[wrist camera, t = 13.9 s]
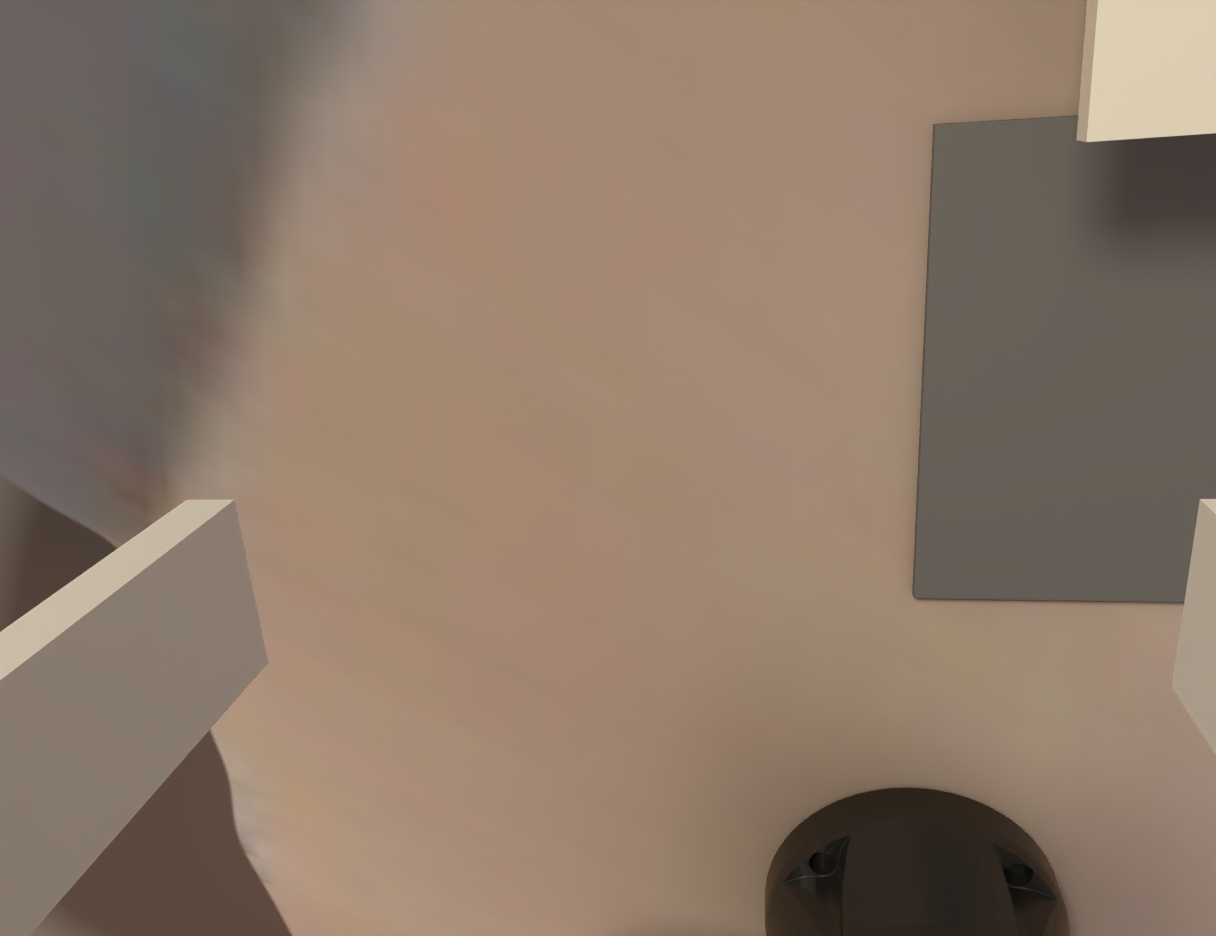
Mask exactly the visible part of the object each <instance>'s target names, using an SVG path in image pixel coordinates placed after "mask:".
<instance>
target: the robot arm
mask: <svg viewBox="0 0 1216 936" xmlns="http://www.w3.org/2000/svg"><path fill="white" fill-rule="evenodd" d="M267 663H268V659H267V655H266V650H265V645H264V640H263V635H262V630H261V626H260V621H259V616H258V611H257V606H256V602H255V597H254V592H253V587H252V582H251V577H250V573H249V568H248V563H247V558H246V553H245V548H244V544H243V539H242V534H241V529H240V524H239V520H238V515H237V510H236V505H235V500H186V501H184V502H183V503H182V504H180V505H179V506H177V507H176V508H175V509H173V510H172V511H170V512H169V513H167V514H166V515H165V516H163V517H162V518H160V519H159V520H158V521H156V522H155V523H153V524H152V525H151V526H149V527H148V528H146V529H145V530H143V531H142V532H141V533H139V534H138V535H136V536H135V537H134V538H132V539H131V540H129V541H128V542H127V543H125V544H124V545H122V546H121V547H119V548H118V549H117V550H115V551H114V552H113V553H111V554H110V555H108V556H107V557H105V558H104V559H103V560H101V561H100V562H98V563H97V564H95V565H94V566H93V567H91V568H90V569H88V570H87V571H86V572H84V573H83V574H81V575H80V576H79V577H77V578H76V579H74V580H73V581H72V582H70V583H69V584H67V585H66V586H64V587H63V588H62V589H60V590H59V591H57V592H56V593H55V594H53V595H52V596H50V597H49V598H48V599H46V600H45V601H43V602H42V603H40V604H39V605H38V606H36V607H35V608H33V609H32V610H31V611H29V612H28V613H26V614H25V615H24V616H22V617H21V618H19V619H18V620H17V621H15V622H14V623H12V624H11V625H9V626H8V627H7V628H5V629H4V630H2V631H1V632H0V936H29V935H30V934H31V933H32V932H33V931H34V929H35V928H36V927H37V926H38V925H39V924H40V922H41V921H42V920H43V919H44V918H45V917H46V915H48V913H49V912H50V911H51V910H52V909H53V908H54V907H55V905H56V904H57V903H58V902H59V901H60V900H61V899H62V897H63V896H64V895H65V894H66V893H67V892H68V891H69V889H70V888H71V887H72V886H73V885H74V884H75V883H76V881H77V880H78V879H79V878H80V877H81V876H82V875H83V873H84V872H85V871H86V870H87V869H88V868H89V866H90V865H91V864H92V863H93V862H94V861H95V860H96V859H97V857H98V856H99V855H100V854H101V853H102V852H103V851H104V849H105V848H106V847H107V846H108V845H109V844H110V843H111V841H112V840H113V839H114V838H115V837H116V836H117V835H118V833H119V832H120V831H121V830H122V829H123V828H124V826H126V824H127V823H128V822H129V821H130V820H131V819H132V818H133V816H134V815H135V814H136V813H137V812H138V811H139V809H140V808H141V807H142V806H143V805H144V804H145V803H146V801H147V800H148V799H149V798H150V797H151V796H152V795H153V793H154V792H155V791H156V790H157V789H158V788H159V787H160V785H161V784H162V783H163V782H164V781H165V780H166V779H167V778H168V776H169V775H170V774H171V773H172V772H173V771H174V770H175V768H176V767H177V766H178V765H179V764H180V762H181V761H182V760H183V759H184V758H185V757H186V756H187V755H188V753H189V752H190V751H191V750H192V749H193V748H194V747H195V746H196V744H197V743H198V742H199V741H200V740H201V739H202V738H203V736H204V735H205V734H206V733H207V732H208V731H209V730H210V728H211V727H212V726H213V725H214V724H215V723H216V722H217V720H218V719H219V718H220V717H221V716H222V715H223V714H224V712H225V711H226V710H227V709H228V708H229V707H230V706H231V704H232V703H233V702H234V701H235V700H236V699H237V698H238V696H239V695H240V694H241V693H242V692H243V691H244V690H245V688H246V687H247V686H248V685H249V684H250V683H251V682H252V680H253V679H254V678H255V677H256V676H257V675H258V674H259V672H260V671H261V670H262V669H263V668H264V667H265V666H266V664H267ZM1172 689H1173V691H1174V692H1175V694H1176V695H1177V697H1178V698H1179V700H1180V701H1181V703H1182V704H1183V706H1184V708H1185V709H1186V711H1187V712H1188V714H1189V715H1190V717H1191V718H1192V720H1193V721H1194V723H1195V724H1196V726H1197V728H1198V729H1199V731H1200V732H1201V734H1202V735H1203V737H1204V738H1205V740H1206V741H1207V743H1208V744H1209V746H1210V747H1211V749H1212V751H1213V752H1214V754H1215V755H1216V499H1200V501H1199V508H1198V514H1197V521H1196V528H1195V534H1194V541H1193V548H1192V554H1191V561H1190V568H1189V575H1188V581H1187V588H1186V595H1185V601H1184V608H1183V615H1182V621H1181V628H1180V635H1179V642H1178V648H1177V655H1176V662H1175V668H1174V675H1173V682H1172ZM765 928H766V935H767V936H1069V925H1068V917H1067V912H1066V908H1065V905H1064V902H1063V899H1062V896H1061V893H1060V890H1059V887H1058V884H1057V882H1056V879H1055V876H1054V873H1053V871H1052V868H1051V866H1050V864H1049V862H1048V860H1047V859H1046V857H1045V855H1044V854H1043V852H1042V851H1041V849H1040V848H1039V847H1038V845H1037V844H1036V843H1035V842H1034V841H1033V839H1032V838H1031V837H1030V836H1029V835H1028V834H1027V833H1026V832H1025V831H1024V830H1022V829H1021V828H1020V827H1019V826H1018V825H1017V824H1015V823H1014V822H1013V821H1011V820H1010V819H1008V818H1007V817H1005V816H1004V815H1002V814H1001V813H999V812H997V811H995V810H994V809H992V808H990V807H988V806H986V805H984V804H981V803H979V802H976V801H974V800H971V799H969V798H965V797H962V796H959V795H955V794H952V793H947V792H942V791H937V790H930V789H919V788H892V789H882V790H875V791H870V792H865V793H861V794H857V795H854V796H850V797H847V798H845V799H842V800H839V801H837V802H835V803H832V804H830V805H828V806H826V807H824V808H822V809H821V810H819V811H817V812H816V813H814V814H813V815H811V816H810V817H808V818H807V819H806V820H804V821H803V822H802V823H801V824H800V825H798V826H797V827H796V828H795V829H794V830H793V831H792V832H791V833H790V834H789V836H788V837H787V838H786V839H785V841H784V842H783V843H782V845H781V846H780V848H779V849H778V851H777V853H776V855H775V857H774V859H773V861H772V863H771V866H770V869H769V872H768V876H767V881H766V891H765Z"/></svg>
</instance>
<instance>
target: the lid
mask: <svg viewBox="0 0 1216 936" xmlns="http://www.w3.org/2000/svg"><path fill="white" fill-rule="evenodd" d="M1212 133H1216V0H1087V11H1086V23H1085V36H1084V49H1083V62H1082V74H1081V87H1080V100H1079V113H1078V126H1077V138H1076V140H1078V141H1083V142H1096V141H1110V140H1125V139H1139V138H1154V137H1168V136H1183V135H1197V134H1212Z"/></svg>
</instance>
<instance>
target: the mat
mask: <svg viewBox="0 0 1216 936" xmlns="http://www.w3.org/2000/svg"><path fill="white" fill-rule="evenodd" d="M1077 126H1078V116H1063V117H1047V118H1030V119H1013V120H997V121H980V122H963V123H947V124H933V146H932V168H931V190H930V213H929V235H928V258H927V280H926V302H925V325H924V347H923V369H922V392H921V414H920V436H919V459H918V481H917V503H916V526H915V548H914V571H913V597H914V598H939V599H1007V600H1074V601H1142V602H1184V601H1185V595H1186V588H1187V581H1188V575H1189V568H1190V561H1191V554H1192V548H1193V541H1194V534H1195V528H1196V521H1197V514H1198V508H1199V501H1200V499H1216V133H1212V134H1197V135H1183V136H1168V137H1154V138H1139V139H1125V140H1110V141H1096V142H1083V141H1078V140H1076V138H1077Z"/></svg>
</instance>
